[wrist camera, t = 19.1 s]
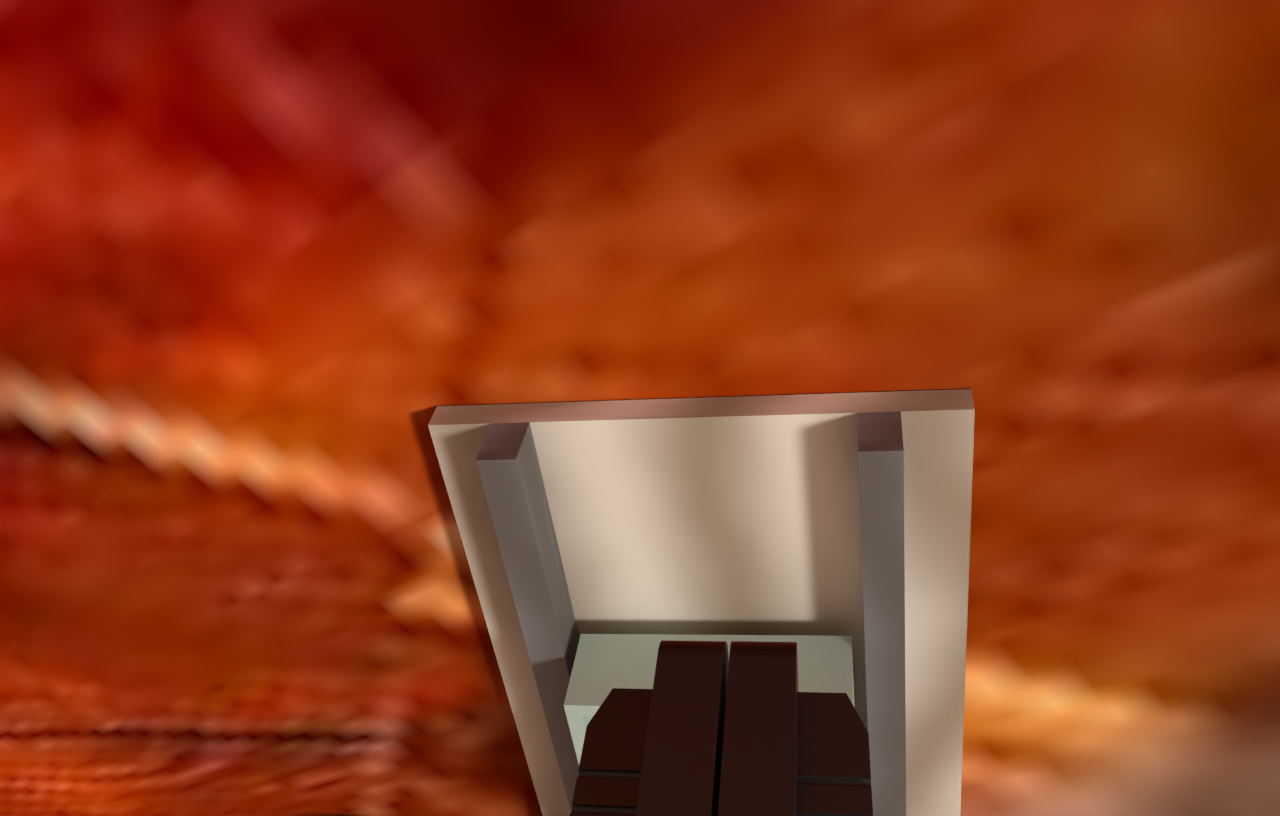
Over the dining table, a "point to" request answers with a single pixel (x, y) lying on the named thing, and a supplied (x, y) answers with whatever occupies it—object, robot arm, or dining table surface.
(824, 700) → the robot arm
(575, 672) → the sage green tray
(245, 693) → the dining table surface
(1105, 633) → the dining table surface
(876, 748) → the track
